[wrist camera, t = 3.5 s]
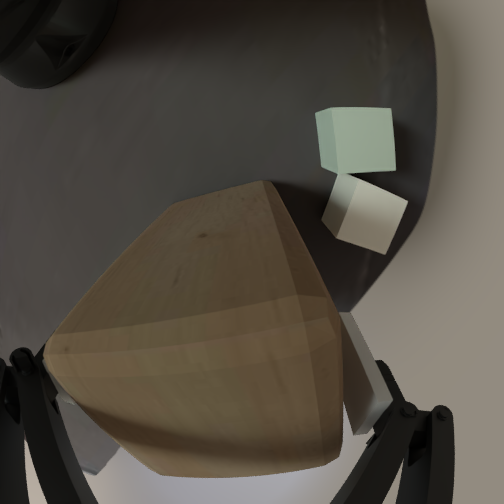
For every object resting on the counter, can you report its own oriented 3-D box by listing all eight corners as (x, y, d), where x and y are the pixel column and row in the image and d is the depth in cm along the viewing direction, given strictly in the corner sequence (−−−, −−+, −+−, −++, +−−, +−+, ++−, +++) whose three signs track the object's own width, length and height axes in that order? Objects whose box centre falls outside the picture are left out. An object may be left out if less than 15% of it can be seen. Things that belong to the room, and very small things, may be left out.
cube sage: (314, 113, 22) (331, 107, 17) (365, 112, 21) (390, 108, 17) (321, 166, 24) (338, 174, 19) (370, 163, 23) (395, 170, 19)
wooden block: (272, 175, 24) (350, 308, 5) (293, 273, 28) (345, 466, 9) (166, 203, 25) (24, 353, 6) (198, 294, 29) (154, 479, 10)
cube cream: (338, 170, 24) (359, 178, 19) (382, 189, 24) (408, 201, 20) (320, 219, 26) (336, 238, 21) (364, 234, 26) (385, 254, 22)
